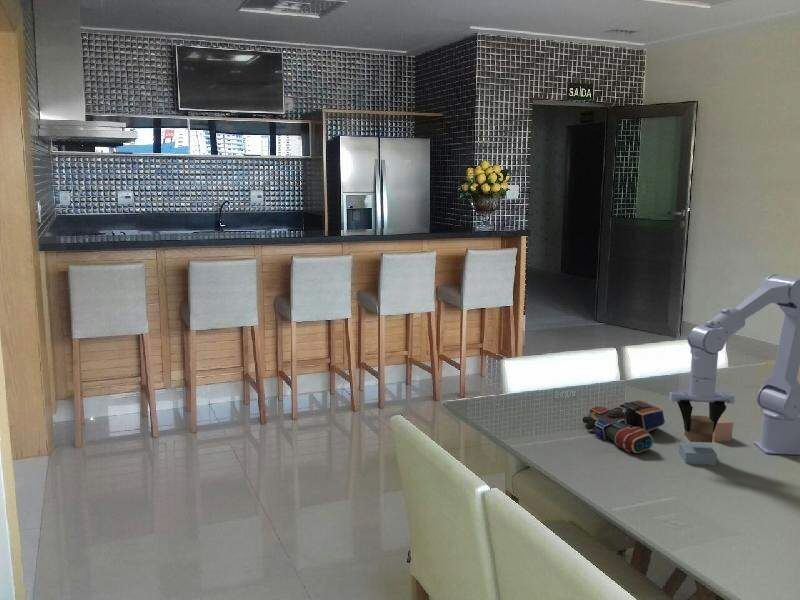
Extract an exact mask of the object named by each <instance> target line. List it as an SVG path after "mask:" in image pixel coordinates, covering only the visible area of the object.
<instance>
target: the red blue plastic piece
mask: <svg viewBox="0 0 800 600" xmlns="http://www.w3.org/2000/svg"><path fill="white" fill-rule="evenodd" d="M582 422H583V424H585V429H586V431H591V430H592V432H594V433H595V435H596V436H597V437H599V438H601V439H603V440H612V442H613V443H614V445H616V446H617V447H618V448H620V449H621V450H624V451H626V453H635V454H640V453H642V452H644V451H647V450H650V449H651V448H652V447H653V444H654V437H653V436H652V435H651V434H650V433H649V432H651V431H653V430H655V429H657V428H660V427H662V426H664V424H665V423H666V421H665V416H664V410H663V409H662V408H659V407H657V406H655V405H653V404H650V403H648V402H645V401H643V400H640V399H639V400H632V401H626V402H625V401H624V402H623V403H619V406H613V408H612V409H609V408H606V407H604V406H594V407H592V408H590V409H589V414H588V415H587V416H583V417H582Z"/></svg>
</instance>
